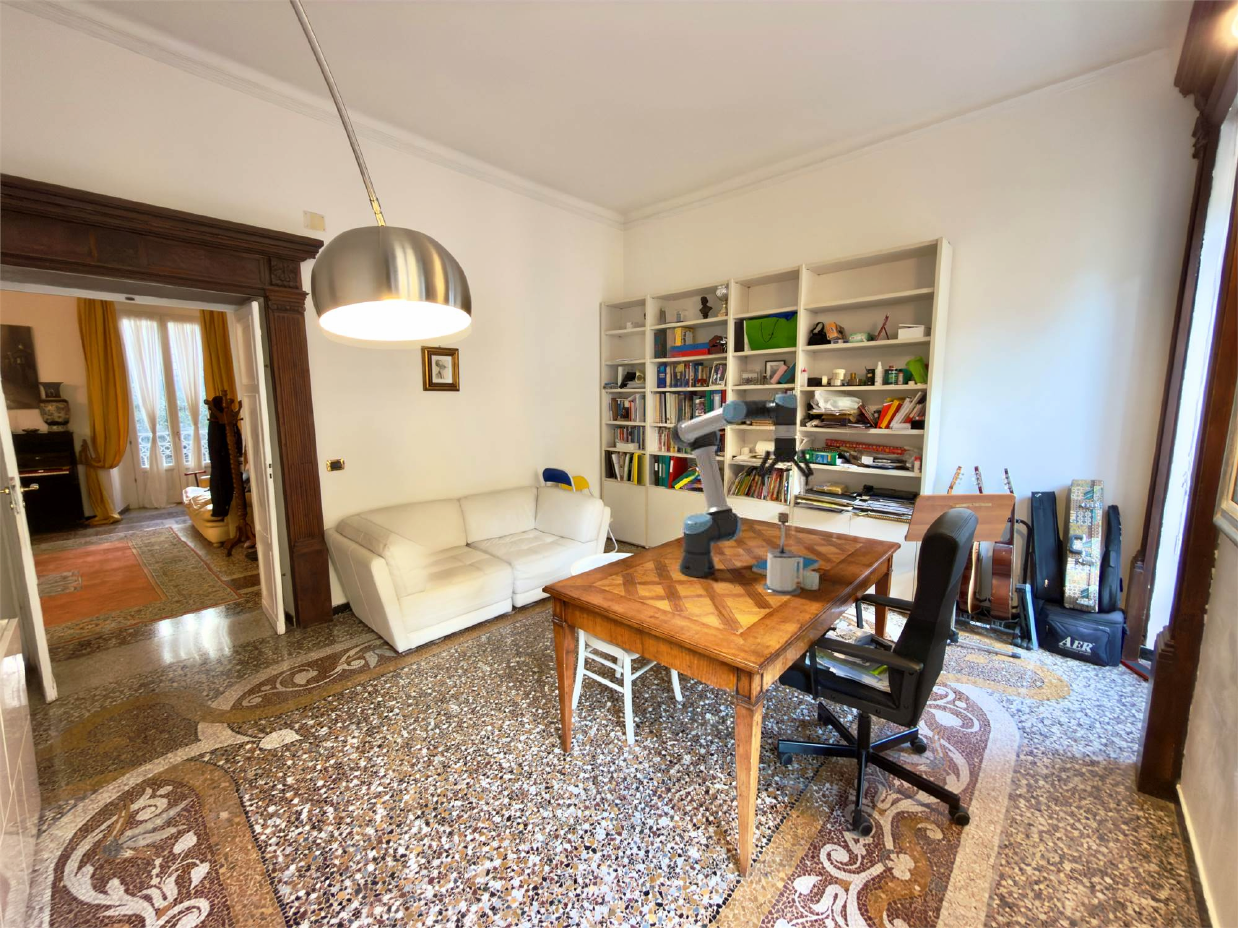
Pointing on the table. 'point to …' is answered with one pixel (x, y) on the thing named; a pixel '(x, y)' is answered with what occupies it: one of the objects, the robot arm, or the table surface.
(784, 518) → the plunger
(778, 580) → the cafetiere
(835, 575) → the table surface
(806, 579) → the espresso cup
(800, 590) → the disc
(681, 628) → the table surface
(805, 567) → the book
